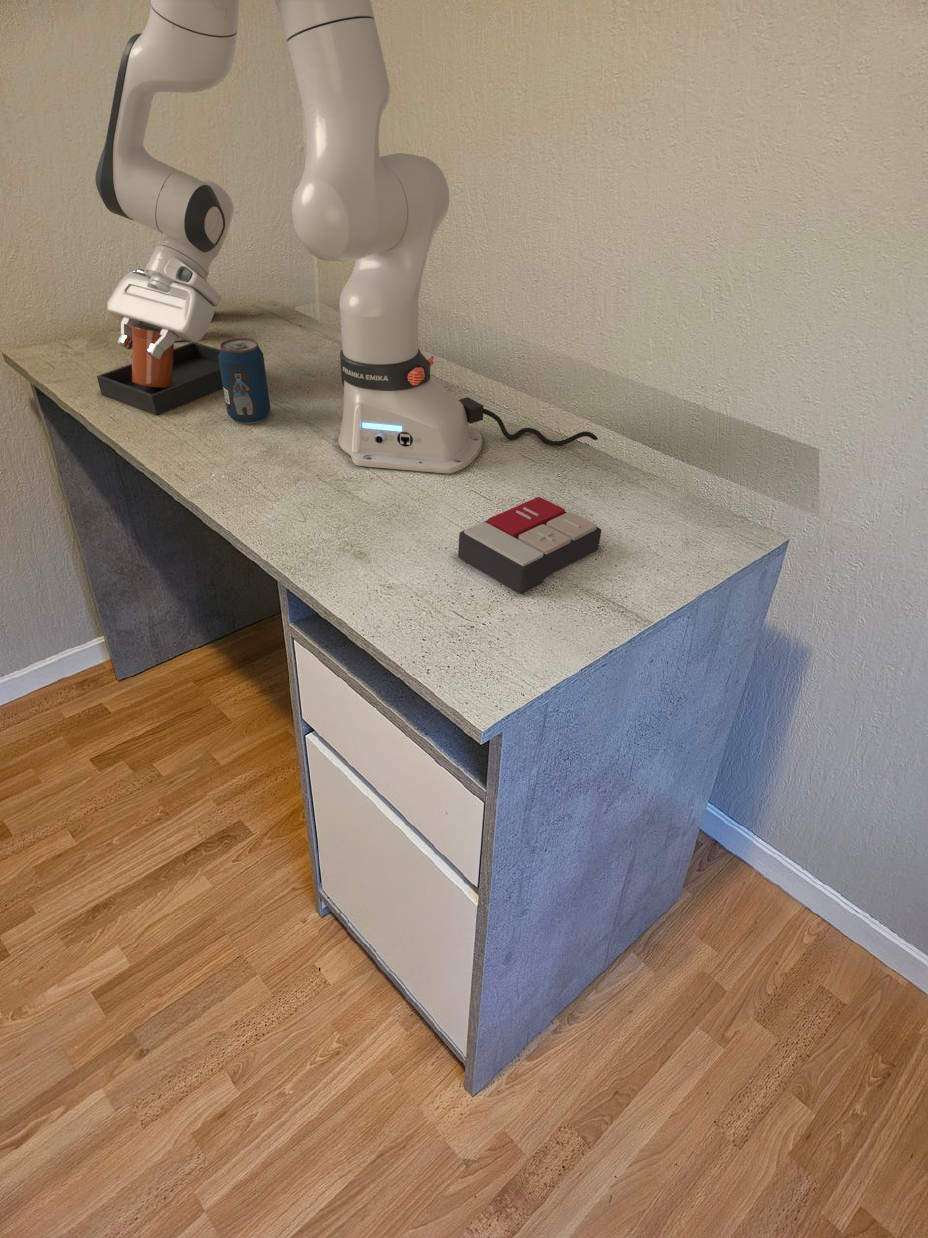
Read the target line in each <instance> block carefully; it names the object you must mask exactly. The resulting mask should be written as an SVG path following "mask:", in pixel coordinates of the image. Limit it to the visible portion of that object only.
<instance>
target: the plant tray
mask: <svg viewBox="0 0 928 1238" xmlns="http://www.w3.org/2000/svg"><path fill="white" fill-rule="evenodd" d="M219 352H220V349H219V348H216V347H212V346H210V345H209V346H208V345H206V344H203V343H199V342H196V343H193V342H189V343H187V344H182V345H181V346H178V347H175V348H174V352H173V383H172V386H171V387H166V388H159V387H149V386H143V385H139V384H136V383H134V382H132V363H129V364H127V365H123V366H121V367H119V368H115V369H112V370H110V371H107V372H104V373H101V374H98V375H96V379H97V383H98V387H99V391H100V395H101V396H104V397H107V398H109V399H112V400H114V401H118V402H120V403H122V404H126V405H128V406H131V407H133V408H135V409H138V410H141V411H144V412H147V413H149V414H153V415H155V416H159V415H161V414H163V413H165V412H168V411H170V410H172V409H175V408H177V407H180V406H182V405H185V404H187V403H189V402H193V401H194V400H197V399H199V398H202V397H204V396H206V395H209V394H211V393H213V392H216V391H219V390H221V389H223V384H222V378H221V372H220V366H219V359H218V355H219Z"/></svg>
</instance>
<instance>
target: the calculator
mask: <svg viewBox="0 0 928 1238" xmlns="http://www.w3.org/2000/svg"><path fill="white" fill-rule="evenodd" d="M458 535H459V536H458V547H457V548H458V550H457V557H458V559H460V560H461V561H462V562H465V563H467V564H469V565H470V566H472V567H473V568H475V569H477V570H479V571H480V572H482V573H484V574H486V575H487V576H488V577H491V578H492V579H494V580H495V581H497V582H499V583H500V584H502V585H504V586H505V587H508V589H511V590H512V591H514V592H516V593H518V594H524V593H526V592H528V591H530V590H532V589H534V588H535V587H537V586H539V585H541V584H542V583H543V582H544V581H545V580H546V579H547V578H548V577H549V576H551V575H553V574H554V573H557V572H558V571H561V570H562V569H563V568H566V567H568V566H570V565H571V564H573V563H576V562H577V561H579V560H581V559H583V558H585V557H587V556H589V555H590V554H593V553H594V552H596V551H598V550H599V547H600V540H601V536H602V529H601V528H600V527H598V525H597V524H596V523H594V522H592V521H590V520H588V519H586V518H584V517H581V516H580V515H578V514H576V513H574V512H571V511H566V508H563V507H561V506H559V505H557V504H555V503H553V502H551V501H549V500H547V499H546V498H543V497H541V496H537V497H534V498H533V499H532V498H531V499H530V500H528V501H525V502H523V503H521V504H518V505H516V506H513V507H511V508H509V509H507V510H505V511H501V512H500V513H497V514H495V515H493V516H491V517H489V518H487V520H484V521H482V522H480V523H478V524H475V525H473V526H471V527H469V528H466V529H464V530H462V531H460V532H459V534H458Z"/></svg>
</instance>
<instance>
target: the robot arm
mask: <svg viewBox="0 0 928 1238" xmlns="http://www.w3.org/2000/svg"><path fill="white" fill-rule="evenodd" d="M274 2H275V4H276V8H277V10H278V15H279V17H280V21H281V25H282V30H283V34H284V37H285V42H286V45H287V49H288V52H289V56H290V60H291V63H292V68H293V72H294V75H295V79H296V84H297V87H298V91H299V96H300V99H301V103H302V109H303V114H304V122H305V123H304V124H305V139H306V140H305V142H306V143H305V160H304V166H303V172H302V176H301V177H300V181H299V183H298V185H297V187H296V189H295V191H294V194H293V196H292V201H291V220H292V224H293V228H294V231H295V234H296V236H297V238H298V240H299V242H300V243H301V245H302V246H303V247H304V248H305V250H306V251H307V252H308V253H309V254H310V255H312V256H313V257H315V258H317V259H319V260H321V261H327V262H353V261H355V264H354V267H353V270H352V272H351V275H350V277H349V278H348V280H347V282H346V283H345V284H344V286H343V288H342V290H341V293H340V296H339V318H340V333H341V347H342V348H341V350H340V351H339V360H340V361H339V362H340V363H339V364H340V378H341V384H342V386H343V407H342V408H343V409H342V418H341V425H340V430H339V435H338V439H337V442H338V445H339V448H341V450H343V452H344V453H346V454H348V455H349V456H350V457H351V461H352V463H353V464H354V465H355V466H358V467H366V468H368V467H369V468H376V469H377V468H378V469H389V470H402V471H412V472H413V471H414V472H425V473H435V474H436V473H437V474H454V473H456V472H460V471H461V470H463V469H465V468H467V467H468V466H469V465H471V464H472V463H473V462H474V461H475V460H476V458H477V457H478V456H479V454H480V453H481V451H482V448H483V436H482V434H481V432H480V431H478V430H475V429H472V428H469V424H470V425H472V424H474V423H477V422H481V421H484V415H486V416H488V417H490V418H492V419H493V420H494V421H496V423H497V425H498V427H499V429H500V431H501V434H502V435H503V437H505V438H506V439H508V440H512V441H513V440H517V439H519V438H520V437H521V436H522V435H524V434H526V433H530V434H533V435H535V436H536V437H537V438H538V439H539V440H540V441H541V442H542V443H544V444H545V445H548V446H553V447H560V446H564V445H568V444H571V443H572V442H575V441H576V440H578V439H580V438H583V437H587V438H589V439H592V440H593V441H597V440H599V438H598V436H597V435H595V434H594V433H593V432H590V431H586V430H585V431H581V432H577V433H575V434H573V435H571V436H569V437H567V438H565V439H562V440H551V439H548V438H547V437H545V435H543V434H542V433H541V432H540V430H537V429H536V428H532V427H524V428H520V429H519V430H518V431H517V432H515V433H514V434H511V433H509V432H508V430H507V428H506V426H505V424H504V422H503V420H502V418H500V417H499V415H497V414H496V413H495V412H493V411H491V410H489V409H487V408H485V407H484V405H483V404H481V403H480V402H478V401H476V400H475V399H473V398H470V397H469V396H467V397H463V398H460V399H458V398H456V397H455V395H453V394H452V393H451V392H449V391H448V390H447V389H446V388H444V387H443V386H442V385H441V384H440V383H439V382H438V381H436V380H435V379H434V378H433V377H431V367H432V366H433V365H434V363H435V361H434V358H435V355H431V356H430V357H429V358H428V359H427V358H426V357H425V356H424V354H423V353H422V352H421V350H420V348H419V301H420V299H419V297H420V293H421V285H422V280H423V276H424V272H425V271H424V270H425V268H426V263H427V259H428V256H429V252H430V249H431V245H432V243H433V240H434V237H435V235H436V233H437V231H438V229H439V227H440V226H441V224H442V223H443V222H444V220H445V218H446V216H447V214H448V210H449V206H450V189H449V184H448V182H447V178H446V176H445V174H444V173H443V171H442V169H441V168H440V167H439V165H438V164H437V163H435V162H434V161H433V160H432V159H430V158H428V157H425V156H421V155H417V154H411V153H405V152H397V153H392V154H387V155H382V156H381V152H380V126H381V120H382V116H383V113H384V112H385V110H386V109H387V107H388V105H389V102H390V99H391V85H390V81H389V77H388V76H389V75H388V71H387V68H386V62H385V59H384V55H383V49H382V45H381V40H380V35H379V32H378V26H377V24H376V23H377V22H376V20H375V14H374V11H373V6H372V2H371V0H274ZM240 5H241V0H150V5H149V6H150V7H149V15H148V19H147V22H146V24H145V28H144V29H143V31H142V32H140V33H135V34H133V35H132V36H131V37H130V38H129V40H128V41H127V43H126V45H125V47H124V49H123V51H122V52H123V53H122V56H121V58H120V63H119V66H118V71H117V76H116V82H115V87H114V92H113V96H112V97H113V98H112V104H111V109H110V114H109V120H108V126H107V131H106V136H105V141H104V145H103V149H102V152H101V155H100V157H99V159H98V160H99V161H98V163H97V167H96V171H95V172H96V173H95V179H94V181H95V187H96V189H97V192H98V195H99V197H100V199H101V201H102V202H103V204H104V206H105V207H106V209H107V210H108V211H109V212H110V213H112V214H114V215H117V216H120V217H123V218H125V219H128V220H131V221H135V222H137V223H139V224H141V225H143V226H146V227H148V228H150V229H152V230H154V231H156V232H158V233H160V234H162V235H163V237H162V238H161V239H160V240H159V241H158V243H156V247H155V248H154V250H153V252H152V254H151V256H150V258H149V260H148V262H147V264H146V266H145V268H144V269H142V268H136V269H135V270H133V271H131V272H128V273H127V274H126V275H124V276H123V277H122V279H120V281H119V282H118V284H117V285H116V287H115V288H114V289H113V291H112V293H111V295H110V297H109V299H108V300H107V303H106V311H107V312H108V313H109V314H111V315H112V316H113V317H115V319H117V320H119V321H121V322H120V335H119V338H118V340H117V345H118V346H120V347H121V348H122V349H126V350H130V351H131V350H132V325H135V324H143V325H148V326H152V327H155V328H158V329H162V330H161V333H160V335H161V337H160V338H159V339H158V340H157V341H156V342H155V343H154V344H152V343H151V344H150V346H149V349H148V350H147V354H149V355H150V356H151V357H153V358H156V359H160V358H161V356H162V354H163V352H164V351H165V350H166V349H168V348H169V347H170V346H171V345H172V344H174V345H175V343H176V341H175V340H176V338H180V339H183V341H187V342H189V343H192V342H193V343H199V341H201V340H202V339H203V338H204V336H205V335H206V332H208V329H209V327H210V325H211V323H212V320H213V319H214V317H213V315H214V311H215V307H217V306H218V305H219V304H220V302H221V301H222V295H221V294H220V293H219V292H218V290H216V288H215V287H213V286H212V284H211V283H210V284H209V283H208V282H207V281H206V278H207V276H208V274H209V271H210V267H211V264H212V262H213V261H214V260H215V259H216V258H217V256H219V253H220V251H221V249H222V247H223V245H224V243H225V240H226V238H227V235H228V232H229V230H230V228H231V224H232V220H233V216H234V210H235V206H234V203H233V201H232V198H231V197H230V195H229V194H228V193H227V192H226V190H225V189H224V188H222V187H221V186H220V185H219V184H218V183H216V182H214V181H212V180H210V179H207V178H204V177H203V178H197V177H195V176H193V175H191V174H188V173H187V172H185V171H183V170H180V169H177V168H175V167H173V166H171V165H169V164H166V163H165V162H162V161H161V160H158V159H156V158H154V157H153V156H151V154H149V152H148V151H147V150H146V148H145V144H144V141H145V135H146V131H147V127H148V123H149V117H150V113H151V108H152V103H153V99H154V97H155V95H156V94H157V93H182V94H183V93H184V94H187V93H190V94H191V93H198V92H202V91H206V90H210V89H212V88H214V87H216V86H217V85H219V84H221V83H222V82H223V81H224V80H225V79H226V78H227V76H228V75H229V73H230V72H231V69H232V66H233V63H234V59H235V54H236V46H237V39H238V28H239V17H240ZM213 306H214V307H213ZM214 316H215V315H214Z"/></svg>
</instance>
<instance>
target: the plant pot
mask: <svg viewBox="0 0 928 1238" xmlns="http://www.w3.org/2000/svg"><path fill="white" fill-rule="evenodd" d="M161 330H162V329H158V328H155V327H152V326H148V325H143V324H135V325H132V348H131V364H132V382H134V383H136V384H139V385H143V386H149V387H159V388H166V387H171V386H172V383H173V352H174V349H175V348H174V346H175V343H174V344H172V345H171V346H170V347H169V348H168V349H166V350H165V351H164V352H163V354H162V356H161V358H160V359H156V358H153V357H151V356H150V355H149V354H147V350H148V349H149V346H150V344H151V343H152V344H154V343H155V342H156V341H157V340H158V339H159V338H160V337H161V335H160V333H161Z"/></svg>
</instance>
